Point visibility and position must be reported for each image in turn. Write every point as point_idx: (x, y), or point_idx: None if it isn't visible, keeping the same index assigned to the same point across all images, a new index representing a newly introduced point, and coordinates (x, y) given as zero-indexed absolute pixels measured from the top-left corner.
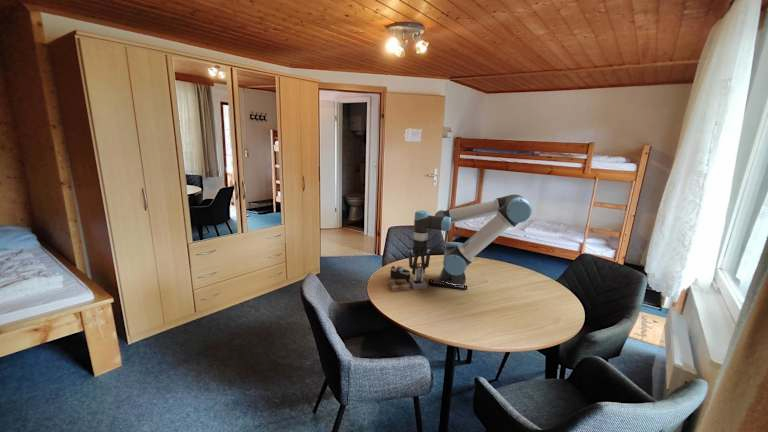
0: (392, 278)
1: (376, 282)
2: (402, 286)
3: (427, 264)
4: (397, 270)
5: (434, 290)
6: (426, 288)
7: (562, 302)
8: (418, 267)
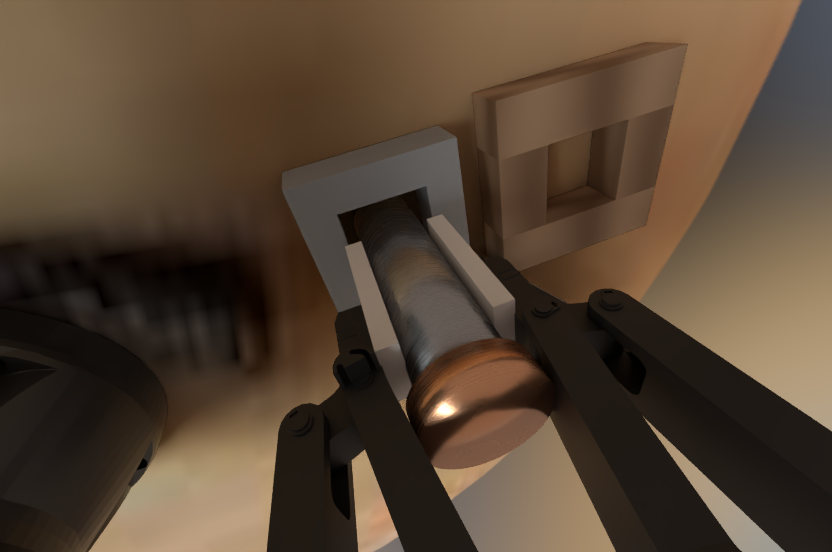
0: (561, 300)
1: (676, 224)
2: (581, 88)
3: (305, 467)
4: None
5: (173, 128)
6: (286, 171)
7: None
8: (484, 340)
